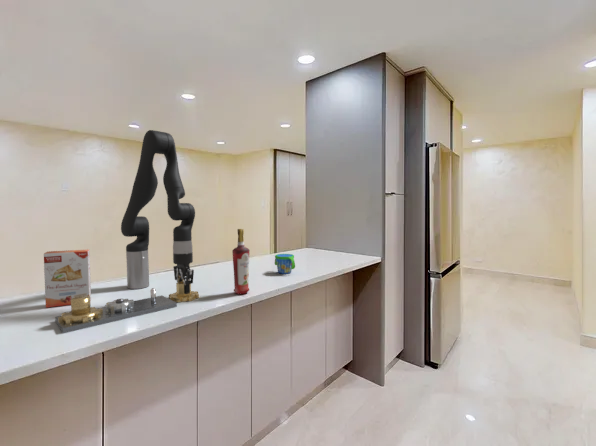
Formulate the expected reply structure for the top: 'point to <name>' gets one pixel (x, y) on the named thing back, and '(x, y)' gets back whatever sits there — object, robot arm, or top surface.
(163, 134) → the robot arm
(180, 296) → the gear
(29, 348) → the top surface
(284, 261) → the snack cup
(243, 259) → the liquor
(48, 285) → the cracker box
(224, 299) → the top surface
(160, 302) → the carrier plate
